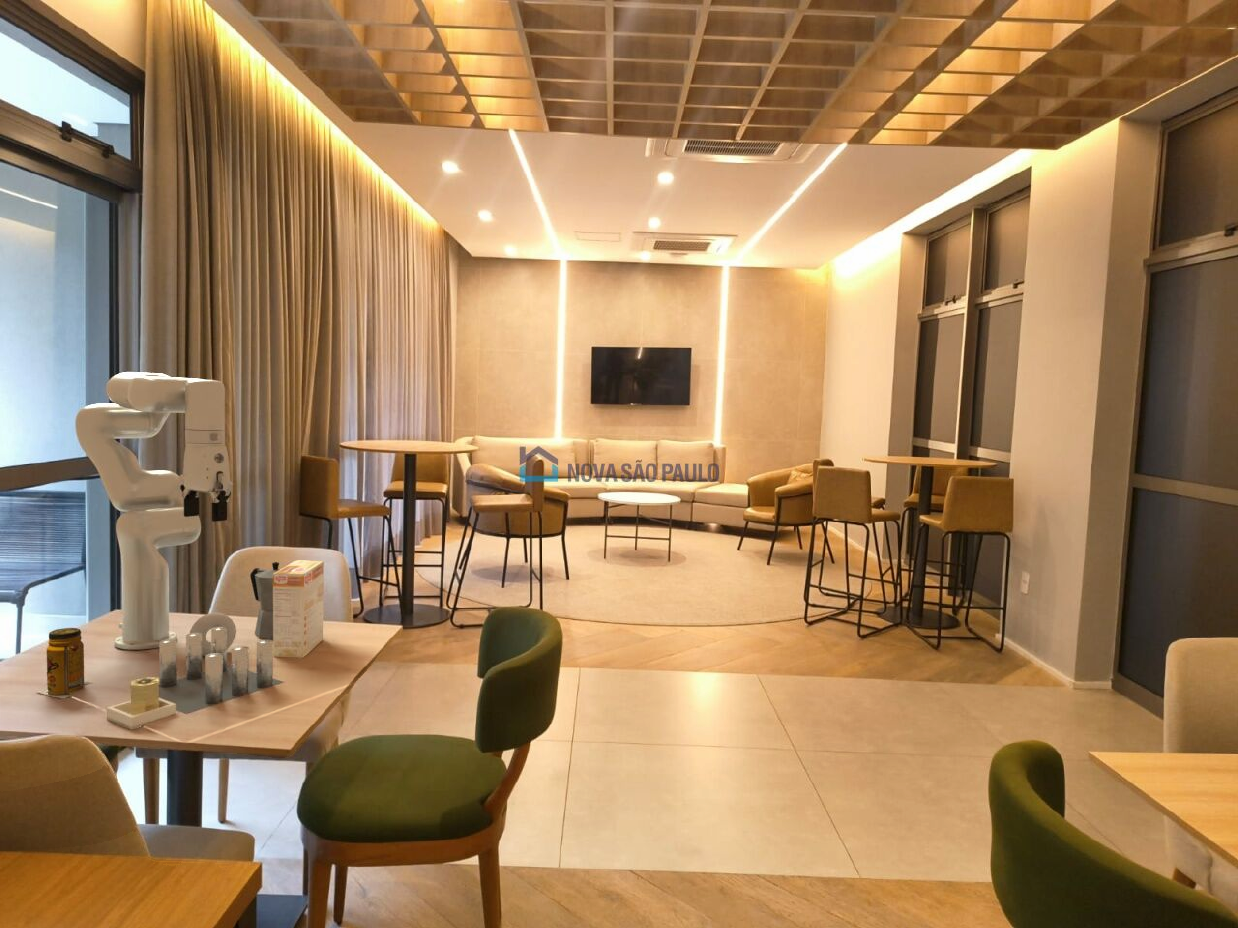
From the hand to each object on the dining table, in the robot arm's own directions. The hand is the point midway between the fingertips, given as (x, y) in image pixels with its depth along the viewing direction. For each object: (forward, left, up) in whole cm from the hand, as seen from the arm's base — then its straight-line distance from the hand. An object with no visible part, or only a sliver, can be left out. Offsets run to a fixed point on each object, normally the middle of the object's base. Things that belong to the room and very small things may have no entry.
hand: (205, 518), depth 175 cm
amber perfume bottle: (+16, -22, -32) cm, 42 cm away
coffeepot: (-10, +24, -32) cm, 42 cm away
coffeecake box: (+5, +20, -32) cm, 38 cm away
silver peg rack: (+13, -6, -32) cm, 35 cm away
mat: (+13, -8, -32) cm, 36 cm away
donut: (-5, +5, -32) cm, 33 cm away
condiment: (-8, -23, -33) cm, 41 cm away
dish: (+17, -23, -32) cm, 43 cm away
